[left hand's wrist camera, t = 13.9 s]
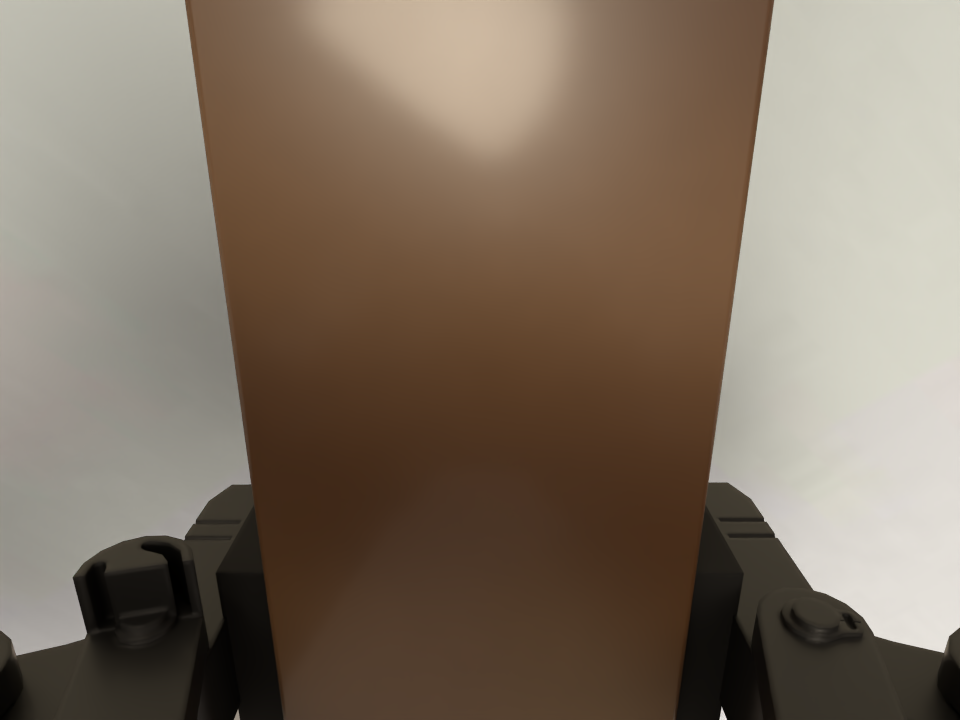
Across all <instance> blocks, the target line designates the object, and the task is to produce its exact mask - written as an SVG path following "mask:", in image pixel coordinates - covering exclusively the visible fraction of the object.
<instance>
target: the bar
mask: <svg viewBox="0 0 960 720" xmlns="http://www.w3.org/2000/svg"><path fill="white" fill-rule="evenodd" d="M185 4H186V11H187V19H188V26H189V33H190V41H191V48H192V55H193V62H194V70H195V77H196V84H197V92H198V99H199V106H200V113H201V121H202V128H203V135H204V143H205V150H206V157H207V164H208V172H209V179H210V186H211V194H212V201H213V208H214V216H215V223H216V230H217V237H218V245H219V252H220V259H221V267H222V274H223V281H224V288H225V296H226V303H227V310H228V318H229V325H230V332H231V339H232V347H233V354H234V361H235V369H236V376H237V383H238V390H239V398H240V405H241V412H242V420H243V427H244V434H245V442H246V449H247V456H248V463H249V471H250V478H251V485H252V493H253V500H254V507H255V514H256V522H257V529H258V536H259V544H260V551H261V558H262V565H263V573H264V580H265V587H266V595H267V602H268V609H269V617H270V624H271V631H272V638H273V646H274V653H275V660H276V668H277V675H278V682H279V689H280V697H281V704H282V711H283V719H284V720H676V716H677V708H678V701H679V694H680V686H681V679H682V672H683V664H684V657H685V650H686V642H687V635H688V628H689V620H690V613H691V606H692V599H693V591H694V584H695V577H696V569H697V562H698V555H699V547H700V540H701V533H702V525H703V518H704V511H705V503H706V496H707V489H708V481H709V474H710V467H711V459H712V452H713V445H714V437H715V430H716V423H717V415H718V408H719V401H720V393H721V386H722V379H723V371H724V364H725V357H726V349H727V342H728V335H729V327H730V320H731V313H732V305H733V298H734V291H735V284H736V276H737V269H738V262H739V254H740V247H741V240H742V232H743V225H744V218H745V210H746V203H747V196H748V188H749V181H750V174H751V166H752V159H753V152H754V144H755V137H756V130H757V122H758V115H759V108H760V100H761V93H762V86H763V78H764V71H765V64H766V56H767V49H768V42H769V34H770V27H771V20H772V12H773V5H774V0H185Z"/></svg>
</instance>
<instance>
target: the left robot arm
mask: <svg viewBox="0 0 960 720" xmlns="http://www.w3.org/2000/svg"><path fill="white" fill-rule="evenodd" d="M73 580H74V584H75V588H76V592H77V596H78V600H79V603H80V607H81V611H82V615H83V619H84V623H85V626H86V630H87V635H86V638H85V639H83V640H80V641H77V642H73V643H70V644H66V645H62V646H58V647H53V648H49V649H44V650H40V651H36V652H31V653H27V654H22V655H18V656H16V654H15V650H14V647H13V644H12V641H11V639H10V638H9V637H8V636H6V635H5V634H4V633H3V632H2V631H0V720H234V718H235V715H236V713H237V710H239V716H240V720H284V719H283V711H282V704H281V697H280V689H279V682H278V675H277V668H276V660H275V653H274V646H273V638H272V631H271V624H270V617H269V609H268V602H267V595H266V587H265V580H264V573H263V565H262V558H261V551H260V544H259V536H258V529H257V522H256V514H255V507H254V500H253V493H252V485H231V486H230V487H228V488H227V489H225V490H224V491H223V492H221V493H220V494H218V495H217V496H216V497H214V498H213V499H211V500H210V501H209V502H208V503H207V505H206V506H205V508H204V509H203V511H202V512H201V514H200V515H199V517H198V518H197V519H196V524H193V525H192V527H191V528H190V530H189V531H188V533H187V534H186V536H185V540H181V539H177V538H173V537H169V536H144V537H140V538H136V539H132V540H127V541H123V542H121V543H118V544H116V545H114V546H111V547H109V548H107V549H105V550H102V551H100V552H99V553H98V554H96V555H95V556H93V557H92V558H91V559H89V560H88V561H86V562H85V563H84V564H83V565H82V566H81V567H80V569H79V570H78V571H77V573H76V574H75V575H74V576H73ZM721 707H722V708H723V711H724V713H725V716H726V718H727V720H960V628H959V629H958V630H956V631H955V632H954V633H953V634H952V635H950V636H949V639H948V642H947V645H946V648H945V652H944V653H941V652H937V651H933V650H928V649H924V648H919V647H915V646H910V645H906V644H901V643H897V642H893V641H889V640H886V639H882V638H879V637H876V636H874V634H873V632H872V630H871V629H870V627H869V626H868V624H867V623H866V622H865V620H864V619H863V617H862V616H860V615H859V614H858V613H857V612H855V611H854V610H853V609H852V608H850V607H849V606H848V605H847V604H845V603H843V602H841V601H839V600H837V599H835V598H833V597H831V596H829V595H827V594H824V593H821V592H817V591H814V590H813V589H812V588H811V586H810V585H809V583H808V582H807V580H806V579H805V577H804V576H803V574H802V573H801V571H800V570H799V569H798V567H797V566H796V564H795V563H794V561H793V560H792V558H791V557H790V555H789V554H788V553H787V551H786V550H785V548H784V547H783V545H782V544H781V542H780V541H779V539H778V538H775V534H774V532H773V531H772V529H771V528H770V526H769V525H768V523H767V522H764V517H763V516H762V515H761V513H760V512H759V510H758V509H757V507H756V506H755V504H754V503H753V501H752V500H751V499H750V498H749V497H747V496H746V495H744V494H743V493H742V492H740V491H739V490H737V489H736V488H735V487H733V486H732V485H730V484H729V483H708V489H707V496H706V503H705V511H704V518H703V525H702V533H701V540H700V547H699V555H698V562H697V569H696V577H695V584H694V591H693V599H692V606H691V613H690V620H689V628H688V635H687V642H686V650H685V657H684V664H683V672H682V679H681V686H680V694H679V701H678V708H677V716H676V720H719V719H720V713H721Z"/></svg>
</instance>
